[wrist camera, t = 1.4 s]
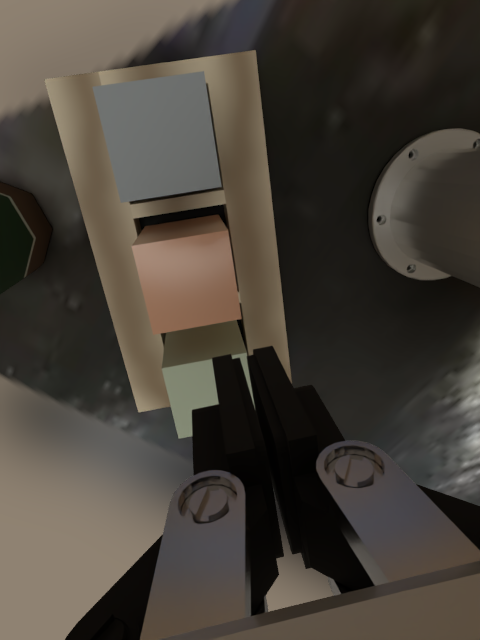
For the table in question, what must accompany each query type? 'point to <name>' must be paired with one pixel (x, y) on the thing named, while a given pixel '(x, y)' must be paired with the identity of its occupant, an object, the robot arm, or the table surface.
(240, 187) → the birch board
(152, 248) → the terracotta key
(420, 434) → the table surface
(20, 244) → the beer bottle
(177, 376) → the sage key
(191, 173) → the slate key
